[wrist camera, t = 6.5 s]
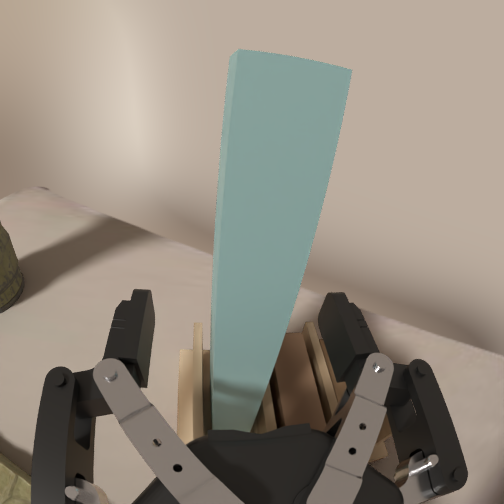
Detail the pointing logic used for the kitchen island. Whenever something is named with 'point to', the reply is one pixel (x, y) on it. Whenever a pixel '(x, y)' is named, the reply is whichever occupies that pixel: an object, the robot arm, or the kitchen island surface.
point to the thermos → (9, 273)
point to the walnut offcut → (295, 386)
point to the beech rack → (199, 405)
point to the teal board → (266, 215)
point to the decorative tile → (13, 483)
